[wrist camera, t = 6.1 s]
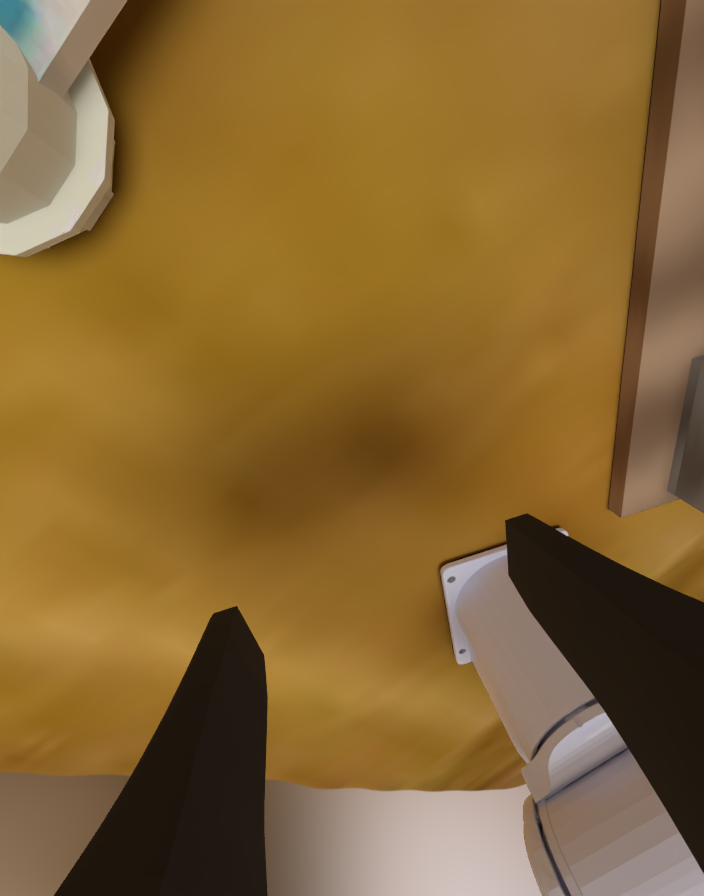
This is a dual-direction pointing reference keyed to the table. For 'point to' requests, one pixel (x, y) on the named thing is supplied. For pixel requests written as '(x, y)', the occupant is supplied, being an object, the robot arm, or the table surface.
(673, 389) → the track base
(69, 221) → the toothbrush head
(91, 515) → the table surface
